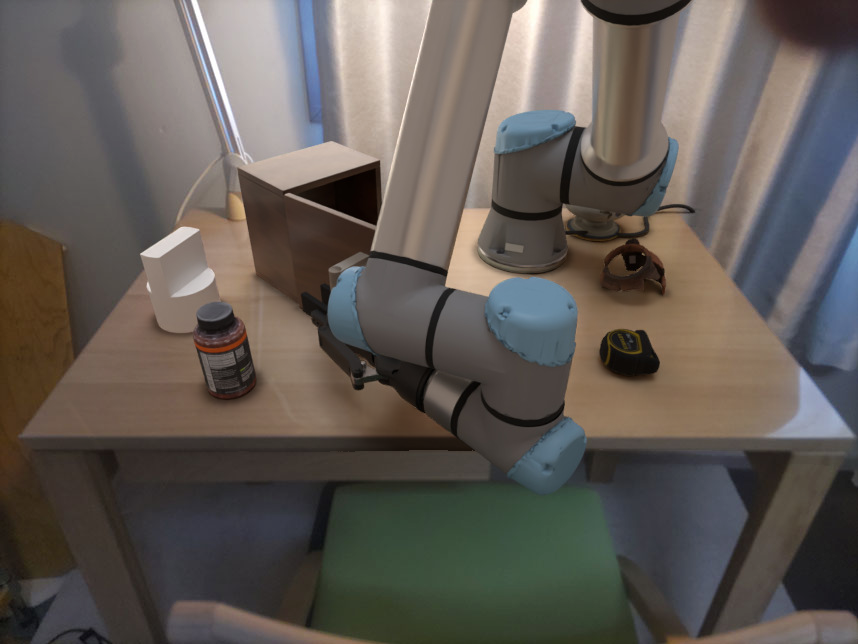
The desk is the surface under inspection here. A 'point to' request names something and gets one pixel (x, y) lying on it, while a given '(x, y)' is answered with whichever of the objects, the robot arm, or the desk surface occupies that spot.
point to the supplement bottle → (223, 351)
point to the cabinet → (310, 179)
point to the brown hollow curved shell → (633, 268)
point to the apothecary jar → (593, 223)
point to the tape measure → (629, 352)
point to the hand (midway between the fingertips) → (314, 297)
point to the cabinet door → (324, 244)
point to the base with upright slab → (179, 279)
